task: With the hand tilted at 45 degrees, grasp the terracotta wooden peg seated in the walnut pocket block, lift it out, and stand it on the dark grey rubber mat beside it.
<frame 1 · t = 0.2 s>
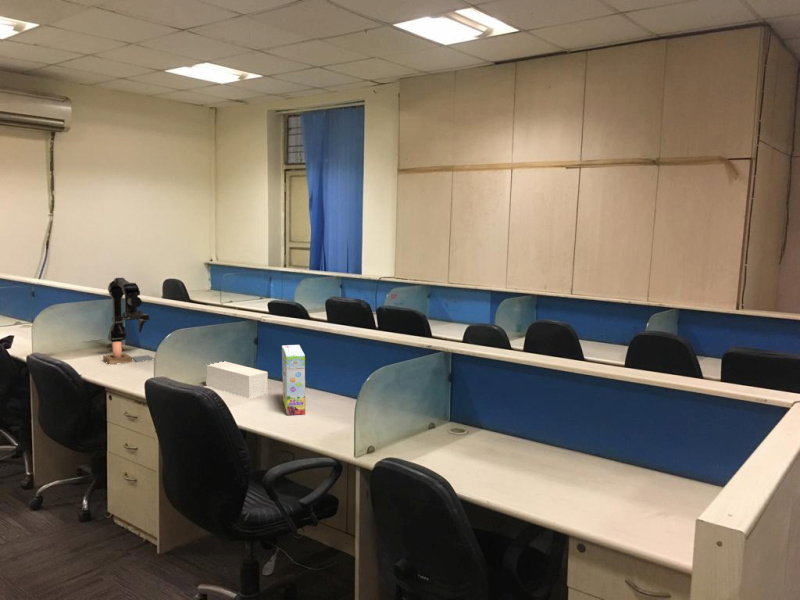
hand: (131, 333, 354), 15 cm above the table, tool pointing down, fingers open, 9 cm apart
snack box: (293, 408, 273), on the table
stack of papers: (236, 390, 298), on the table
rubber mat: (142, 359, 356), on the table
walnut pocket block: (117, 361, 348), on the table
terracotta peg: (117, 351, 347), in the walnut pocket block
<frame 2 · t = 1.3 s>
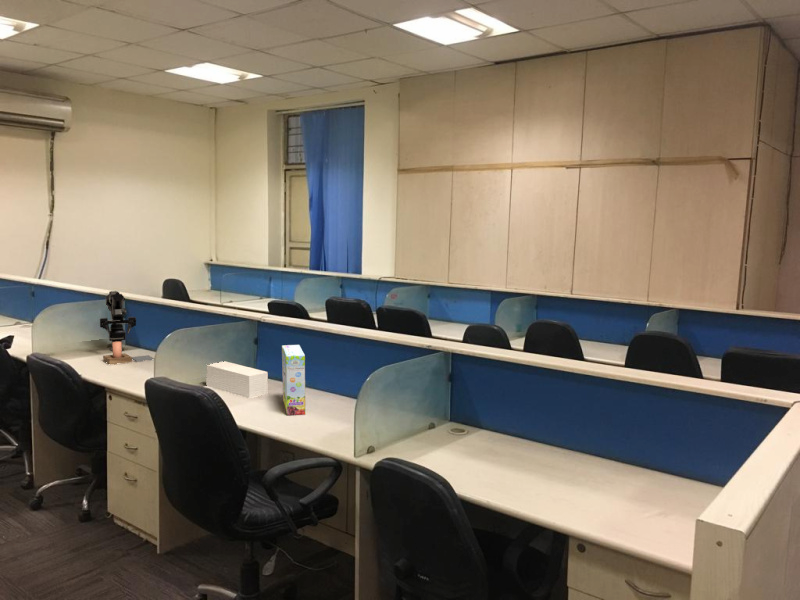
hand: (118, 334, 355), 14 cm above the table, tool tilted 45°, fingers open, 9 cm apart
nothing on the table moved.
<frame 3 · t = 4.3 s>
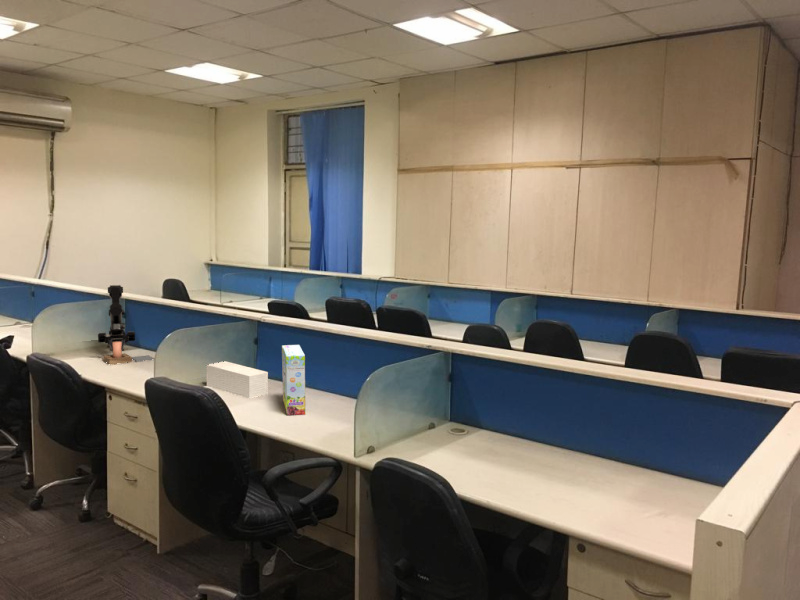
hand: (117, 349, 346), 7 cm above the table, tool tilted 45°, fingers closed on terracotta peg, 4 cm apart
terracotta peg: (117, 351, 347), in the walnut pocket block, touching gripper
everything else where it was.
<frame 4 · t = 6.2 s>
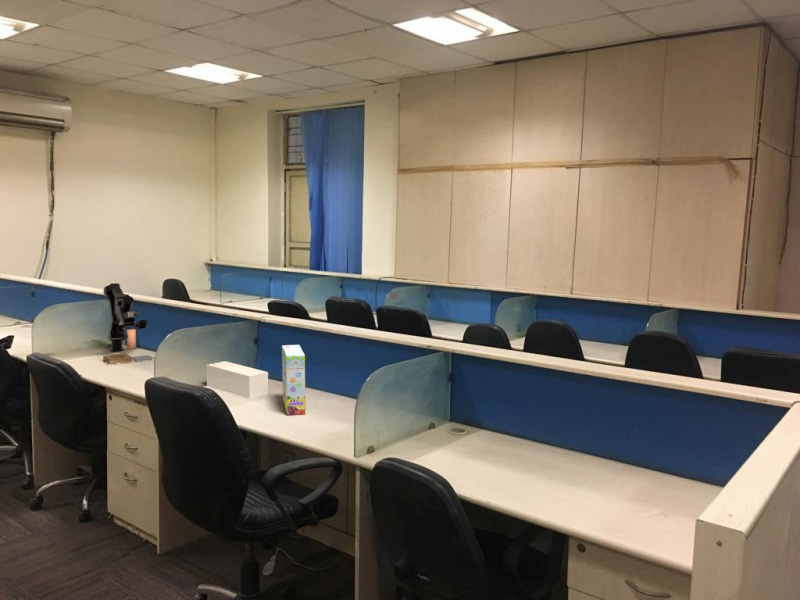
hand: (132, 337, 349), 13 cm above the table, tool tilted 45°, fingers closed on terracotta peg, 4 cm apart
terracotta peg: (131, 339, 350), point 12 cm above the table, touching gripper
everything else where it was.
when the fingers open (9 cm above the table, at t = 8.0 s): terracotta peg moves 1 cm, resting on rubber mat.
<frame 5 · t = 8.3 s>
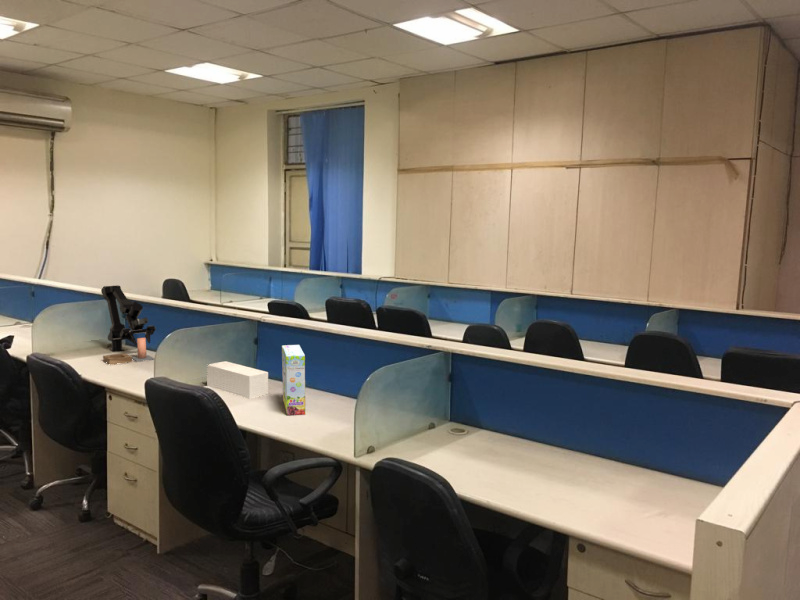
hand: (143, 343, 354), 9 cm above the table, tool tilted 45°, fingers open, 7 cm apart
terracotta peg: (141, 347, 355), on the rubber mat, point 6 cm above the table
everything else where it was.
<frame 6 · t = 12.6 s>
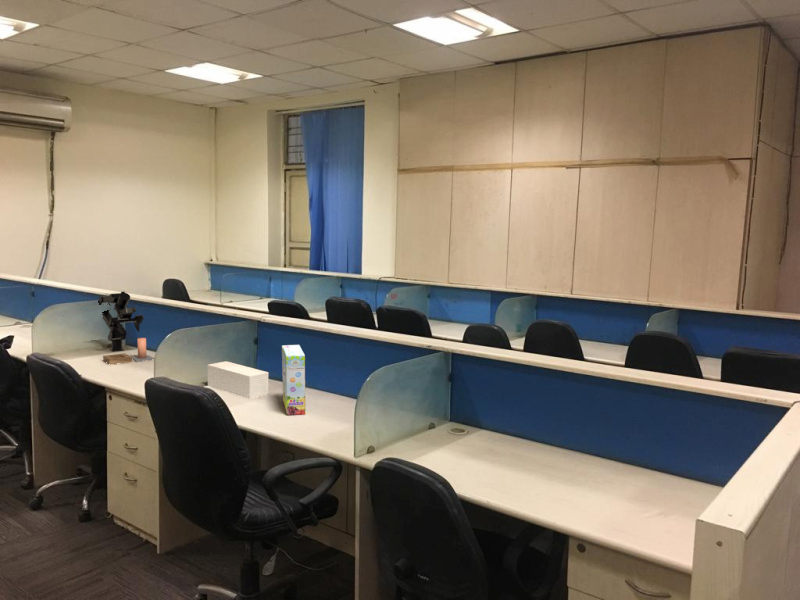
hand: (131, 332, 362), 14 cm above the table, tool tilted 45°, fingers open, 9 cm apart
nothing on the table moved.
at the end: terracotta peg 0.0 cm off-centre on the rubber mat, point 6.3 cm above the rubber mat's base; terracotta peg tilted 1°; the gripper is holding nothing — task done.
